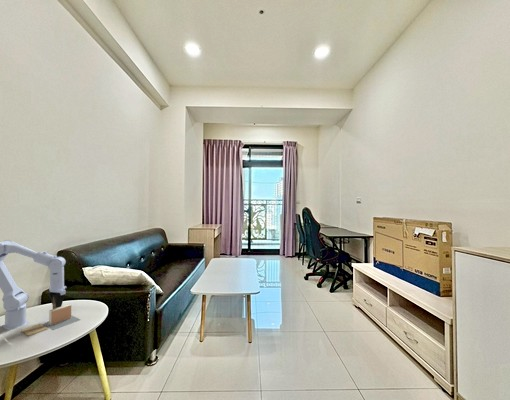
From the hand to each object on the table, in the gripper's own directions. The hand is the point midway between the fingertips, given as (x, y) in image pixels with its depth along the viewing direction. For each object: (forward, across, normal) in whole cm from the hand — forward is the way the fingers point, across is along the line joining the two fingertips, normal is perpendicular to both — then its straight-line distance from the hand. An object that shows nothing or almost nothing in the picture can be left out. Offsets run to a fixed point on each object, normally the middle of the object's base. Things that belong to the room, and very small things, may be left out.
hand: (57, 305), depth 128 cm
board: (+7, -4, +10) cm, 13 cm away
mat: (+7, -6, 0) cm, 10 cm away
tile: (+7, -4, 0) cm, 8 cm away
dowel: (+2, 0, 0) cm, 2 cm away
